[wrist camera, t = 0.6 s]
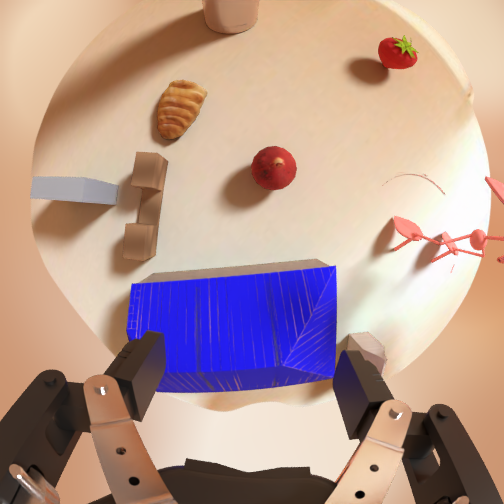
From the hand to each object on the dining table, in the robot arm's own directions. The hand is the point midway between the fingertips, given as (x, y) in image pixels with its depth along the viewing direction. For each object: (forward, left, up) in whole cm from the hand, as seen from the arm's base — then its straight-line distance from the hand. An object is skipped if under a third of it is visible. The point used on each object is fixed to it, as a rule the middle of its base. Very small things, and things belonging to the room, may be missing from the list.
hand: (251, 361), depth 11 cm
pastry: (-25, -4, -29) cm, 38 cm away
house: (+8, -2, -29) cm, 30 cm away
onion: (-12, +6, -28) cm, 31 cm away
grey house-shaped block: (+19, +15, -28) cm, 38 cm away
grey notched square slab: (-16, -22, -28) cm, 39 cm away
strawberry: (-30, +32, -28) cm, 52 cm away
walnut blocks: (-11, -12, -28) cm, 32 cm away
